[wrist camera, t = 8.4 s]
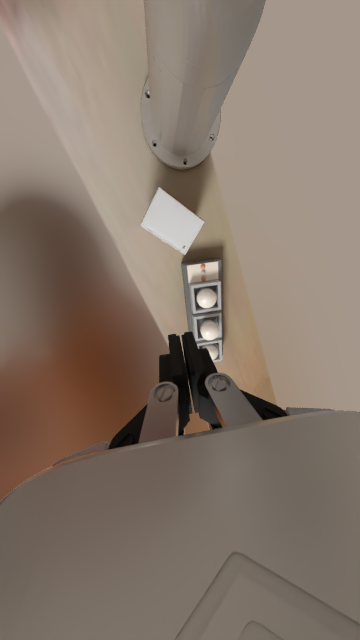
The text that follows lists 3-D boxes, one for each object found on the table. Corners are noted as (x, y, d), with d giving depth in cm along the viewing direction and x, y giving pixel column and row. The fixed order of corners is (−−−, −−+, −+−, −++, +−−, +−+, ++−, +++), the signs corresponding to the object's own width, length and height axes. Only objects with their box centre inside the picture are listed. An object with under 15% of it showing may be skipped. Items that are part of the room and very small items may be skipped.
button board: (181, 263, 38) (184, 266, 33) (217, 258, 38) (225, 260, 34) (191, 353, 48) (194, 365, 43) (219, 349, 48) (225, 360, 44)
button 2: (195, 288, 37) (197, 291, 35) (213, 285, 37) (216, 288, 35) (196, 306, 38) (198, 309, 37) (214, 303, 39) (216, 306, 37)
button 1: (199, 344, 43) (201, 348, 41) (215, 341, 43) (218, 346, 41) (200, 357, 44) (202, 362, 43) (216, 354, 45) (218, 359, 43)
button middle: (199, 321, 38) (201, 325, 36) (216, 318, 38) (219, 322, 37) (200, 337, 40) (202, 341, 38) (217, 334, 40) (220, 338, 38)
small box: (193, 226, 35) (206, 221, 26) (179, 252, 37) (186, 256, 27) (158, 200, 33) (158, 184, 23) (144, 228, 34) (139, 224, 25)
